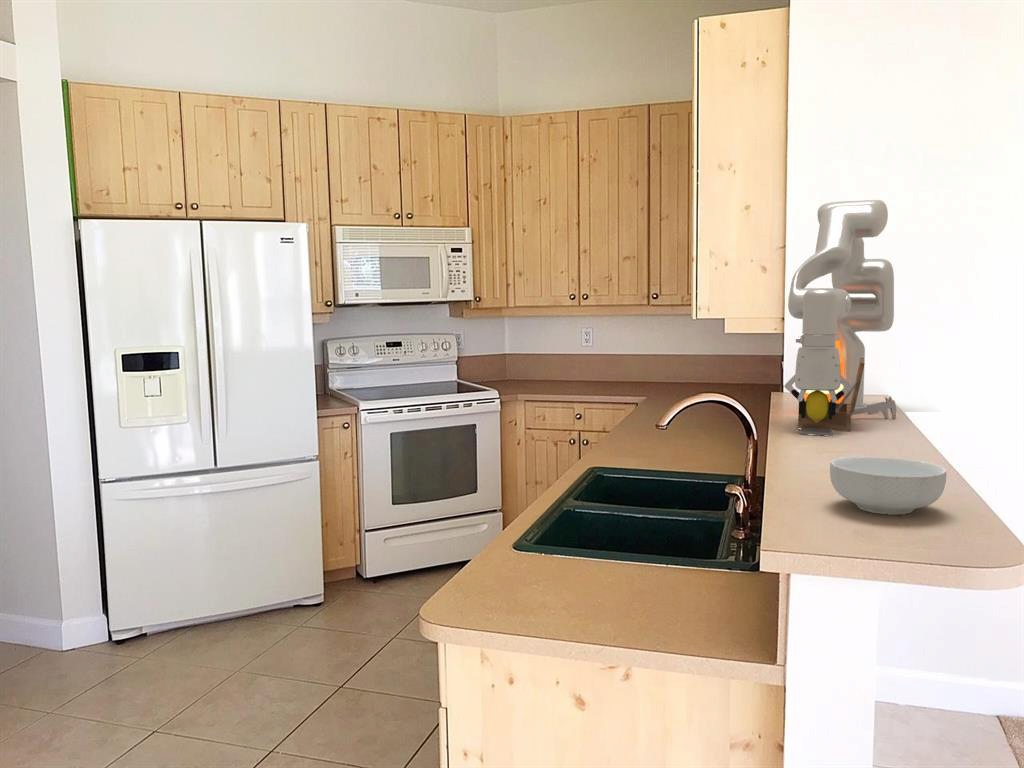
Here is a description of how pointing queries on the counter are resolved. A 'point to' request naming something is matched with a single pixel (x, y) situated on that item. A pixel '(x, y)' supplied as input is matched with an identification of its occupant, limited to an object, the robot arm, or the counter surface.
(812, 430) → the coaster
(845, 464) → the cereal bowl
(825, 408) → the lemon
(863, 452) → the counter surface
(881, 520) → the counter surface
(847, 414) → the case
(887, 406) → the caliper
